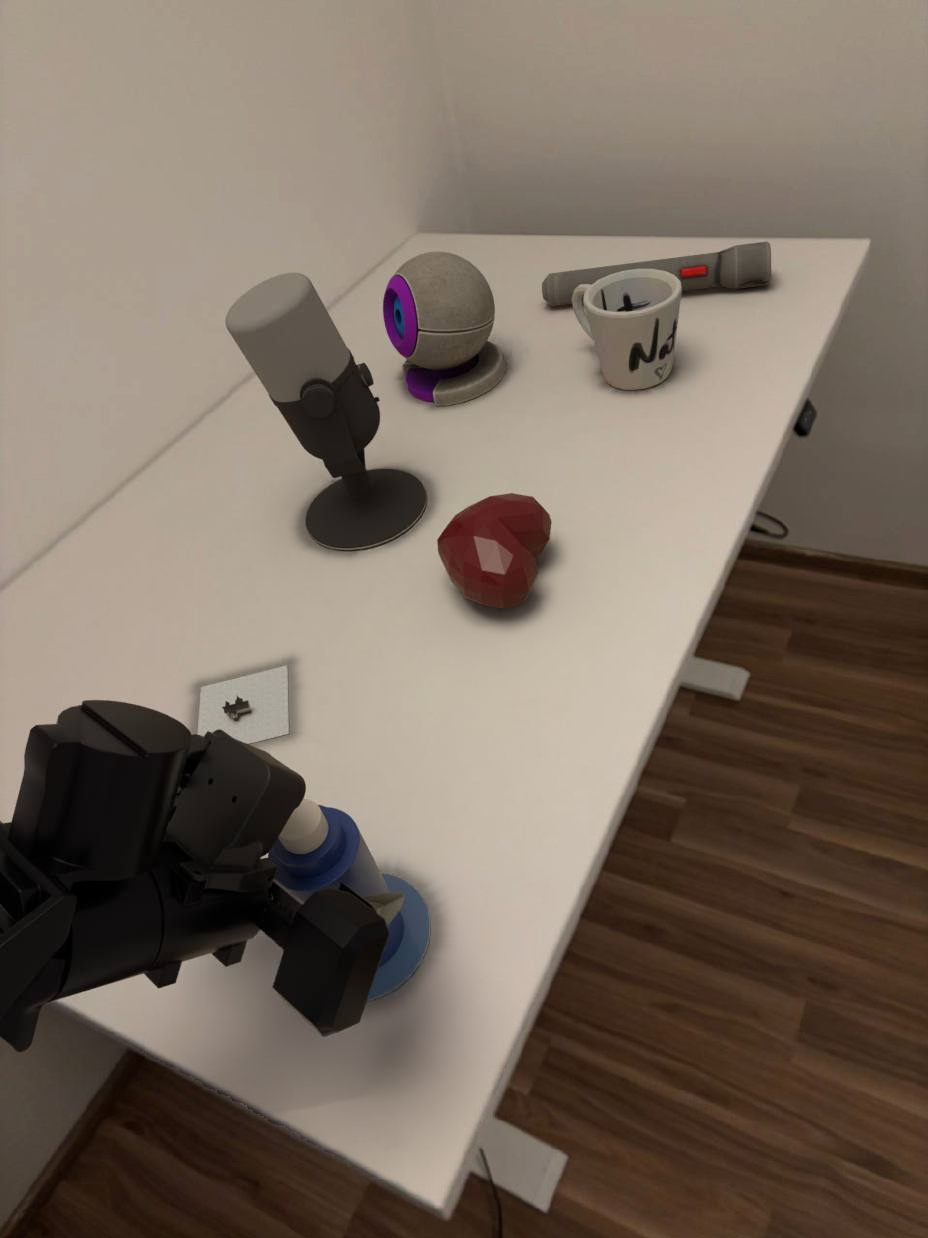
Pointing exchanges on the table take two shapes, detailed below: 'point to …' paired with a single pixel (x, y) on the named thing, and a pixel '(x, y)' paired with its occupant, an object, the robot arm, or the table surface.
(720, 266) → the flashlight
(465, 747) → the table surface
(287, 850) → the blue bottle
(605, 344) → the mug
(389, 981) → the blue coaster
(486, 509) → the heart
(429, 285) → the webcam
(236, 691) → the grey square plate
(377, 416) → the microphone
